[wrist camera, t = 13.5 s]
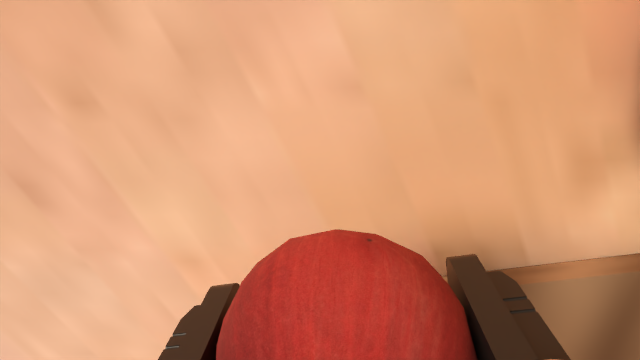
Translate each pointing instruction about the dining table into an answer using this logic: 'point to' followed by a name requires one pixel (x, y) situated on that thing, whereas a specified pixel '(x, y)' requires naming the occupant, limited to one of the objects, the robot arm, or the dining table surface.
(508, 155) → the dining table surface
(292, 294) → the onion
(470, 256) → the robot arm
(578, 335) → the board
